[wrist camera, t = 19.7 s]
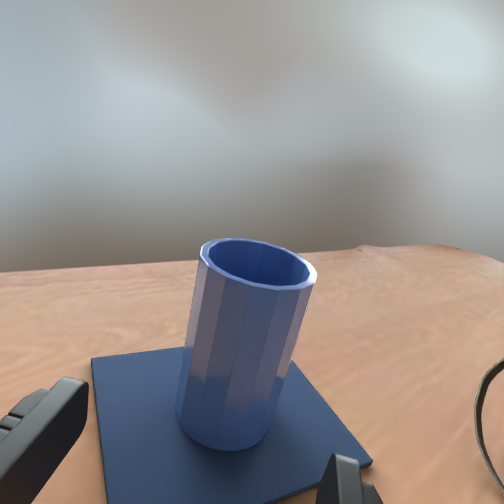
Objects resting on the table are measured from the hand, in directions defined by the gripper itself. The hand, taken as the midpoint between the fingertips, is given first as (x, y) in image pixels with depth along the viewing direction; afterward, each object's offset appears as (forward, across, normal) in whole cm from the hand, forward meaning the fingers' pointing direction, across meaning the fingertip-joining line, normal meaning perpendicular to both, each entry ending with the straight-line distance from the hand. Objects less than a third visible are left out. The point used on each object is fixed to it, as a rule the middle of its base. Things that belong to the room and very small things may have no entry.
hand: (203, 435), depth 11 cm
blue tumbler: (+8, 0, +7) cm, 11 cm away
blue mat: (+9, 0, +8) cm, 11 cm away
